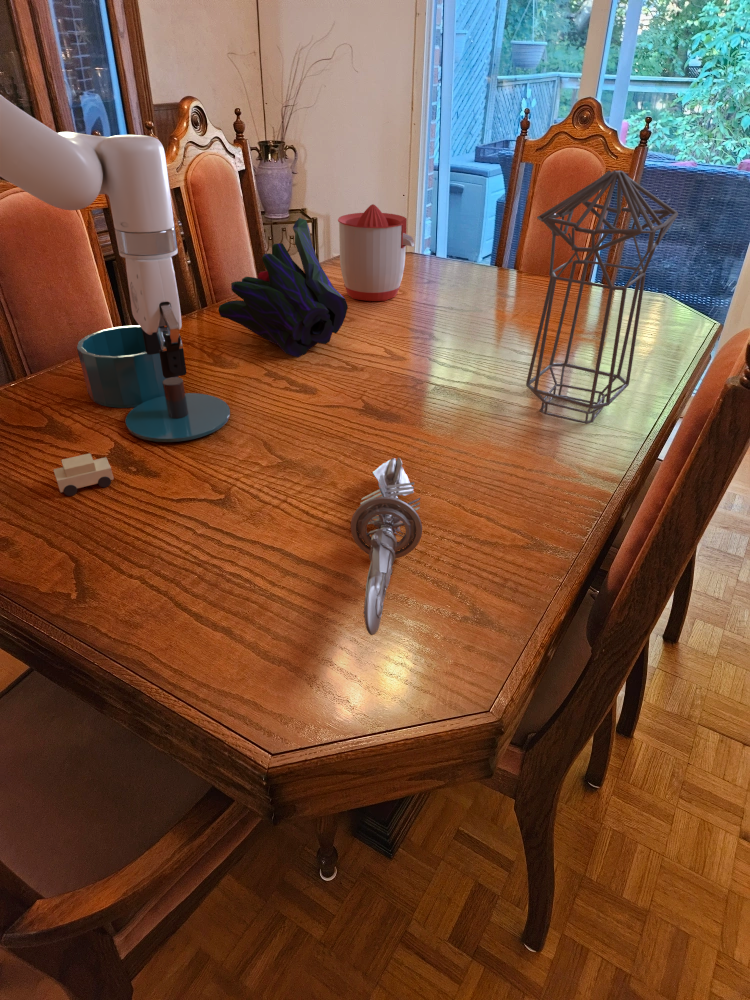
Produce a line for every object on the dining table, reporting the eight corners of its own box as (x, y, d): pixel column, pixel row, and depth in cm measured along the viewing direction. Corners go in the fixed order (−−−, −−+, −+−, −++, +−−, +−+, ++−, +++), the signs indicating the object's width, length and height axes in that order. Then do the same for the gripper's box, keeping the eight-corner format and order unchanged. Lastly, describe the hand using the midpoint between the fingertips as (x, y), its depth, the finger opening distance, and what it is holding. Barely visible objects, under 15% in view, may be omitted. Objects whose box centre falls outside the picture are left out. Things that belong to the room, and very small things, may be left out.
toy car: (62, 498, 85) (54, 473, 83) (58, 485, 87) (50, 460, 85) (115, 485, 87) (109, 460, 85) (110, 473, 90) (104, 448, 88)
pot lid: (124, 451, 95) (114, 409, 91) (129, 405, 107) (120, 366, 104) (234, 439, 98) (229, 397, 94) (227, 395, 111) (222, 357, 107)
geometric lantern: (634, 406, 109) (693, 169, 89) (602, 444, 98) (661, 184, 78) (543, 383, 116) (579, 159, 96) (504, 416, 105) (536, 172, 86)
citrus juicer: (407, 307, 150) (411, 213, 139) (332, 302, 152) (330, 209, 141) (416, 288, 163) (420, 199, 152) (347, 283, 165) (345, 196, 154)
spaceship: (311, 607, 57) (397, 584, 55) (357, 446, 88) (414, 428, 86) (346, 674, 60) (428, 655, 58) (379, 497, 91) (433, 480, 89)
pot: (85, 412, 105) (72, 361, 100) (93, 376, 117) (82, 329, 112) (180, 402, 108) (172, 353, 103) (179, 368, 120) (171, 322, 115)
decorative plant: (280, 404, 129) (216, 322, 144) (389, 334, 133) (315, 261, 148) (242, 328, 112) (173, 244, 127) (369, 250, 115) (287, 177, 130)
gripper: (104, 230, 93) (126, 348, 102) (133, 259, 80) (155, 390, 90) (158, 226, 96) (175, 341, 105) (194, 253, 83) (209, 381, 93)
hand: (165, 364), depth 97 cm, fingers open, 9 cm apart
